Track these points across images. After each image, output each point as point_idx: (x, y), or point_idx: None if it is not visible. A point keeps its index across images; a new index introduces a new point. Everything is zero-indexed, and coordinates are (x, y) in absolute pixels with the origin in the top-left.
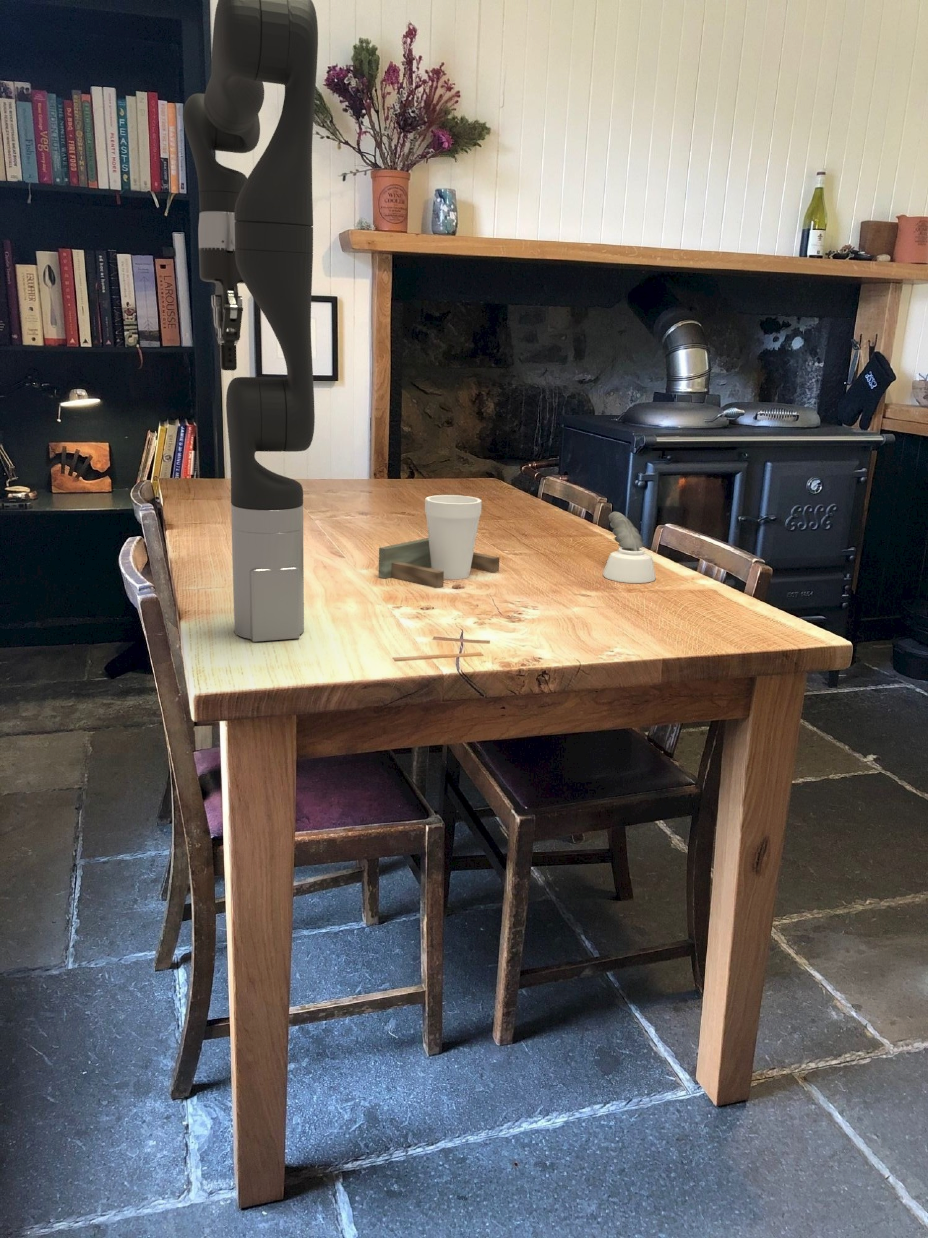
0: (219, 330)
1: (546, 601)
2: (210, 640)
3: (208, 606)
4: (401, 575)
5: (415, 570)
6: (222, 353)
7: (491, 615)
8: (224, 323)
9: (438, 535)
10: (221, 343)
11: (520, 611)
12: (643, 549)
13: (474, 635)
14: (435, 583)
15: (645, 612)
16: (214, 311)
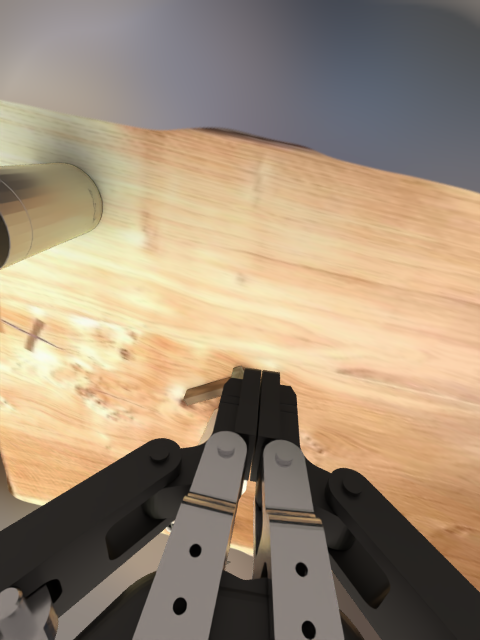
0: (263, 497)
1: (128, 432)
2: (46, 130)
3: (175, 164)
4: (224, 381)
5: (207, 390)
6: (238, 406)
7: (96, 384)
8: (49, 502)
9: (209, 435)
10: (218, 432)
11: (104, 405)
12: (170, 532)
13: (45, 349)
14: (188, 391)
15: (89, 464)
16: (296, 634)
